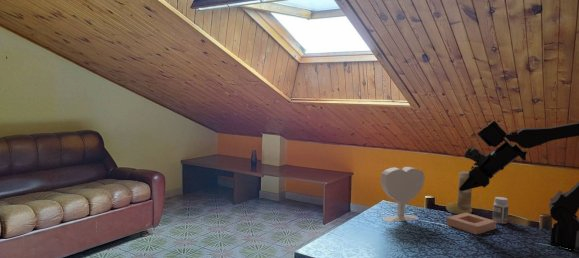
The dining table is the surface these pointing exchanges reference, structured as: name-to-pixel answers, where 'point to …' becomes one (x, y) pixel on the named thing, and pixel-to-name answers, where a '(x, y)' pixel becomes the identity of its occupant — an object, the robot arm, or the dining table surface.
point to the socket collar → (471, 223)
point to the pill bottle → (500, 210)
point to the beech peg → (464, 193)
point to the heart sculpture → (402, 188)
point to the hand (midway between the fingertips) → (460, 188)
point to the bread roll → (455, 208)
